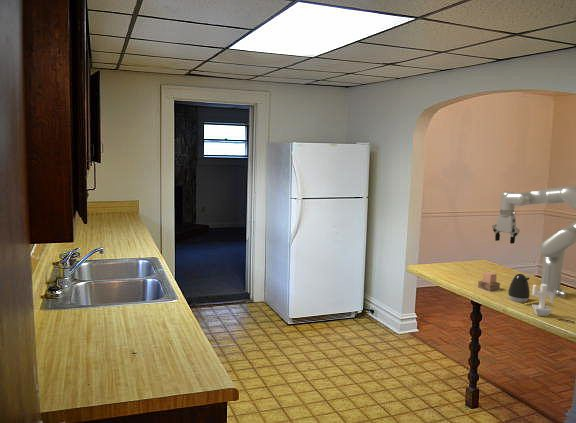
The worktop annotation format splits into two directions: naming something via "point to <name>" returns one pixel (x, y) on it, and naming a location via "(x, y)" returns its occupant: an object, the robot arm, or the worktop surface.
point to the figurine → (542, 300)
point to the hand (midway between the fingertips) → (504, 241)
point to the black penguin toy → (519, 289)
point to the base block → (488, 286)
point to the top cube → (489, 277)
